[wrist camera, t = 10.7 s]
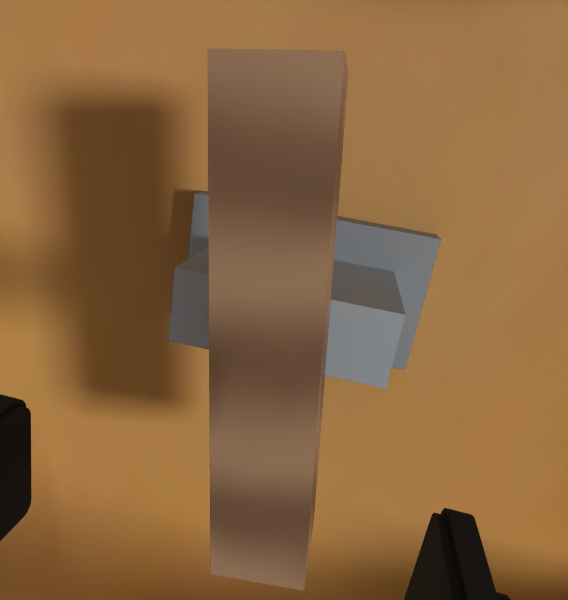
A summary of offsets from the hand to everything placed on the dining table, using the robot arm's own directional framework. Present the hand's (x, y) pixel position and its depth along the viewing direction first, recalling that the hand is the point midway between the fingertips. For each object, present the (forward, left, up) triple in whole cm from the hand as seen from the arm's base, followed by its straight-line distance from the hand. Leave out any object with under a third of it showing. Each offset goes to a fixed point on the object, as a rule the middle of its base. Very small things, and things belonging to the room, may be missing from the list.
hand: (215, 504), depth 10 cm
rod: (0, 0, -11) cm, 11 cm away
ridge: (0, 0, -20) cm, 20 cm away
